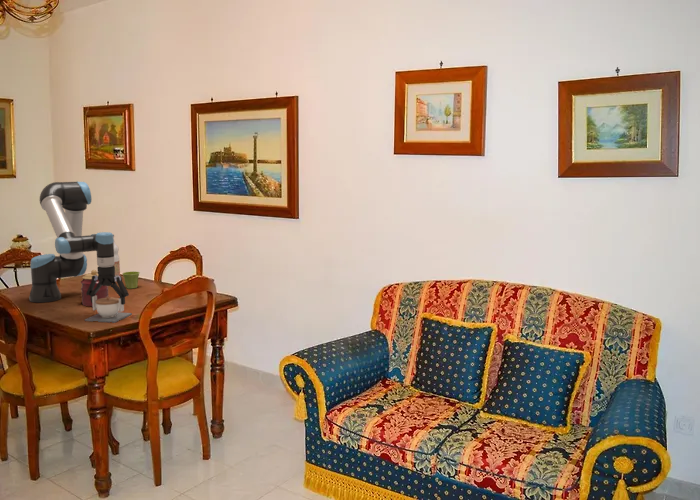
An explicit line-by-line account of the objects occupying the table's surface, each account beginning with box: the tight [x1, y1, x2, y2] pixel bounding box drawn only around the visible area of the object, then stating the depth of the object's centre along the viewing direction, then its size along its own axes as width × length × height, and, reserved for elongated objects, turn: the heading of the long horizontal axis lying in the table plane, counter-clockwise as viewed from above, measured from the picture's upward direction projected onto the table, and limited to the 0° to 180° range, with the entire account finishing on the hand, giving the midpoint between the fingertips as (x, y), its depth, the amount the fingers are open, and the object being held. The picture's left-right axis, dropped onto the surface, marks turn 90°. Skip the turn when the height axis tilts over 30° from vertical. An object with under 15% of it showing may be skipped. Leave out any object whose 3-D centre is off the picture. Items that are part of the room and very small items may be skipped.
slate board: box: [84, 311, 133, 324], centre depth 299 cm, size 15×15×1 cm
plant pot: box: [122, 271, 141, 290], centre depth 364 cm, size 9×9×9 cm
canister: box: [80, 269, 109, 307], centre depth 325 cm, size 13×13×18 cm
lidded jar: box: [96, 295, 120, 318], centre depth 298 cm, size 11×11×9 cm
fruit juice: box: [113, 234, 121, 283], centre depth 382 cm, size 9×9×28 cm
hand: (108, 310), depth 298 cm, fingers open, 13 cm apart
